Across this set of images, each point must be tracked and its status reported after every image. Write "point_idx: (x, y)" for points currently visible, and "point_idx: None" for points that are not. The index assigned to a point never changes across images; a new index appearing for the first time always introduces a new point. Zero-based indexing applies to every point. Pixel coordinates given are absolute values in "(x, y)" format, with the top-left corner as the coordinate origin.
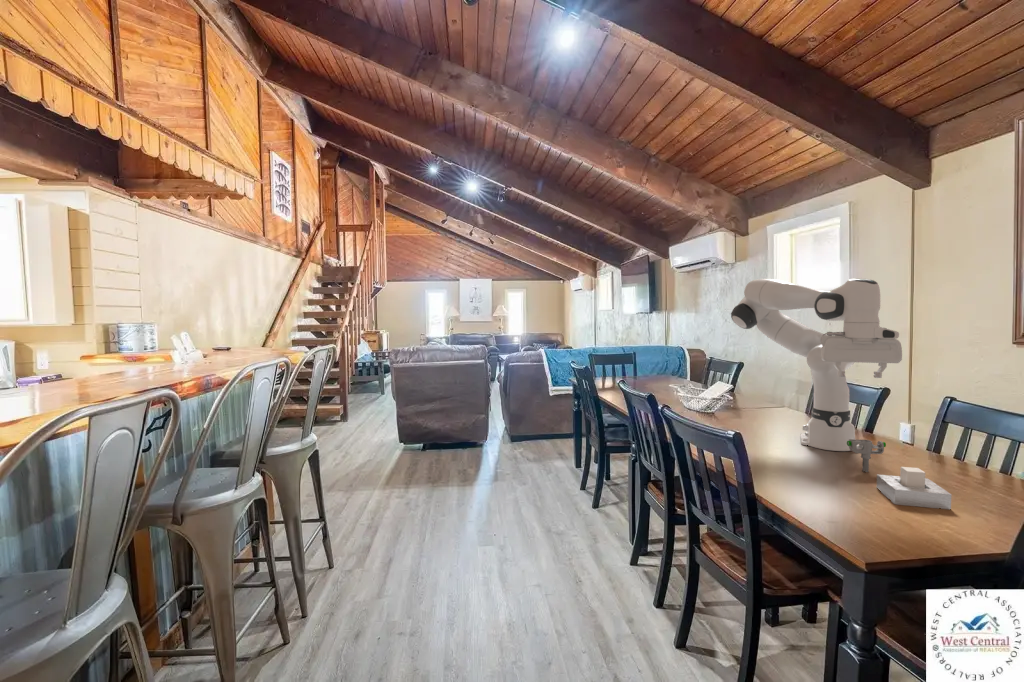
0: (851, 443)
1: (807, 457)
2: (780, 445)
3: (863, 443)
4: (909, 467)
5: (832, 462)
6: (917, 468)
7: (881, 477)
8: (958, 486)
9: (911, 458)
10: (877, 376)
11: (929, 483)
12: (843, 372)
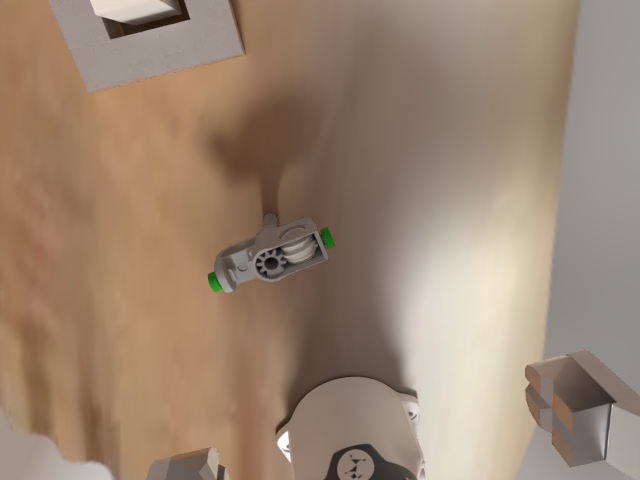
0: (320, 236)
1: (414, 284)
2: (472, 364)
3: (281, 242)
4: (126, 3)
5: (351, 270)
6: (97, 3)
7: (229, 17)
8: (34, 207)
9: (156, 411)
10: (192, 459)
11: (80, 23)
12: (577, 395)
